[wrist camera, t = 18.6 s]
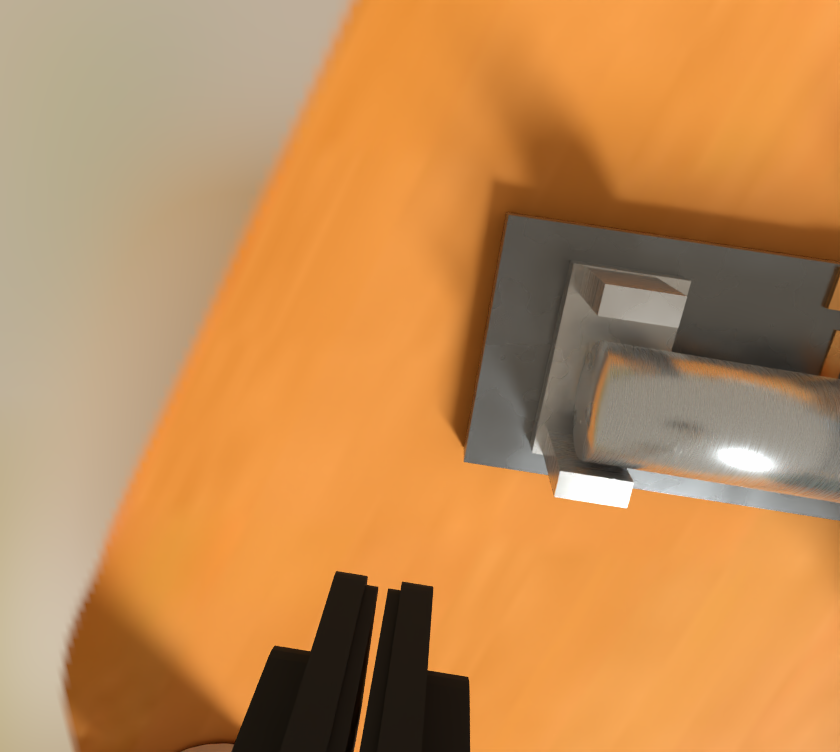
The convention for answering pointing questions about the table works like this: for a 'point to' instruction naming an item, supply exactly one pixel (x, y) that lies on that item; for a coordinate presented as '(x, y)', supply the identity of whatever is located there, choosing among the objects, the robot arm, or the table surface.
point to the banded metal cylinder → (709, 420)
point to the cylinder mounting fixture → (635, 341)
